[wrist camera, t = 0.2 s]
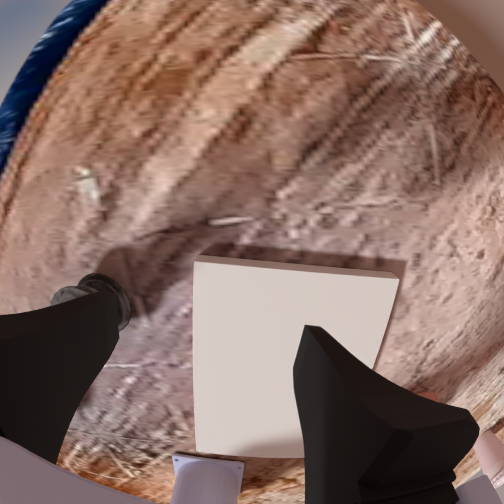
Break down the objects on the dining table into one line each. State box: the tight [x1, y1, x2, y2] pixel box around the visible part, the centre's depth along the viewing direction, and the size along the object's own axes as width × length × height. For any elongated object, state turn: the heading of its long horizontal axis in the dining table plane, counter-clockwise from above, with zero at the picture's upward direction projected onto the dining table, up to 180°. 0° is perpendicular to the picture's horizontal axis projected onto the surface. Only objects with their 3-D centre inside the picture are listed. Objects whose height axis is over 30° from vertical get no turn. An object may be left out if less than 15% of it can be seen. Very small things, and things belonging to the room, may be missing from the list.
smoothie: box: [473, 430, 504, 489], centre depth 21 cm, size 6×6×14 cm
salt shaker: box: [51, 274, 130, 331], centre depth 16 cm, size 6×6×12 cm
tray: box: [193, 255, 399, 458], centre depth 22 cm, size 20×14×2 cm
